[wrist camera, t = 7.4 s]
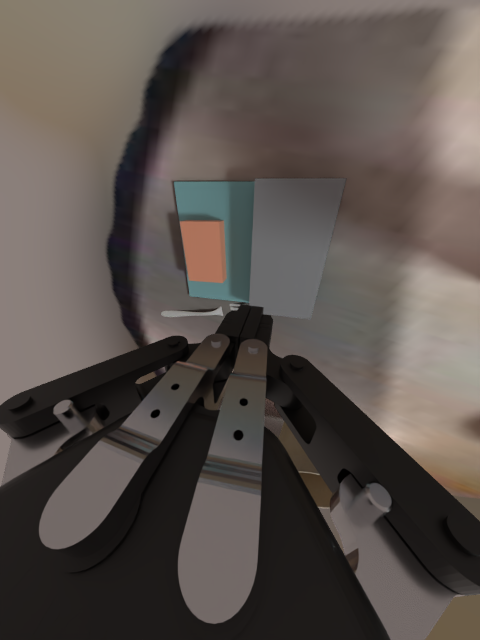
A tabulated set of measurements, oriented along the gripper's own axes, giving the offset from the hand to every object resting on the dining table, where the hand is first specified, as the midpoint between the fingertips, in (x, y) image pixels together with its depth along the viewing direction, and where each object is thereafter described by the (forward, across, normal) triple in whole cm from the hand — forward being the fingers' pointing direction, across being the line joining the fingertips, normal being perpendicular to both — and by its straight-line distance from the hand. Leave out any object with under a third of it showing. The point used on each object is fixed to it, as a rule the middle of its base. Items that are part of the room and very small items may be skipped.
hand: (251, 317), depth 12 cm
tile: (+19, +11, 0) cm, 22 cm away
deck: (+21, -2, 0) cm, 21 cm away
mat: (+20, +10, 0) cm, 22 cm away
